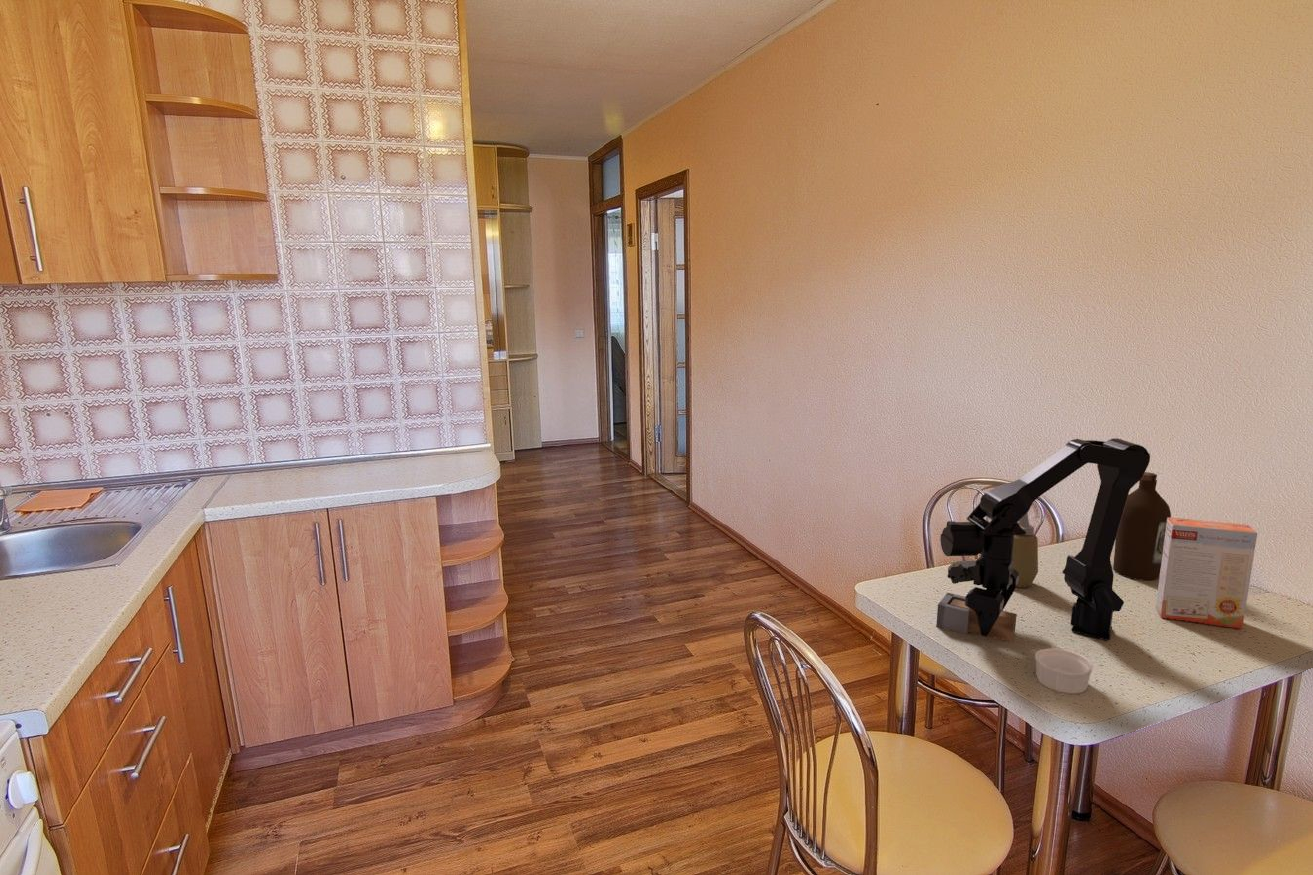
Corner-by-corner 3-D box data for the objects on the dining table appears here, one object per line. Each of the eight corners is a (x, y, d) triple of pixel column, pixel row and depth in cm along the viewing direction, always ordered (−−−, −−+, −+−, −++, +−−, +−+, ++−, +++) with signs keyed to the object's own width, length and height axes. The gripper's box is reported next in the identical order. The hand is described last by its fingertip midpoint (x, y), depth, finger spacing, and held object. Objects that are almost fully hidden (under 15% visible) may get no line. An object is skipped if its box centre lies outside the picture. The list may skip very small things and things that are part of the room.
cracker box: (1233, 618, 148) (1249, 523, 144) (1242, 630, 143) (1259, 532, 139) (1153, 606, 154) (1166, 515, 150) (1159, 618, 149) (1173, 523, 144)
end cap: (975, 621, 148) (977, 599, 147) (966, 634, 143) (968, 611, 142) (945, 614, 152) (947, 592, 151) (936, 626, 146) (937, 604, 145)
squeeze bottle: (1038, 580, 168) (1045, 508, 165) (1034, 592, 162) (1042, 518, 158) (1000, 573, 173) (1007, 503, 169) (996, 585, 166) (1002, 512, 162)
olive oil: (1104, 573, 172) (1117, 474, 167) (1116, 561, 179) (1128, 465, 174) (1156, 585, 165) (1171, 482, 160) (1166, 572, 172) (1181, 473, 167)
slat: (1014, 636, 142) (1016, 613, 141) (1011, 642, 140) (1013, 619, 139) (952, 620, 149) (954, 598, 148) (948, 626, 147) (950, 604, 146)
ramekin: (1066, 701, 120) (1069, 678, 119) (1021, 675, 128) (1023, 654, 127) (1101, 689, 123) (1104, 666, 122) (1055, 665, 131) (1058, 643, 130)
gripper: (965, 533, 152) (960, 600, 155) (940, 560, 138) (935, 633, 141) (1022, 543, 146) (1015, 613, 149) (1002, 573, 131) (995, 650, 134)
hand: (989, 626), depth 143 cm, fingers open, 9 cm apart
